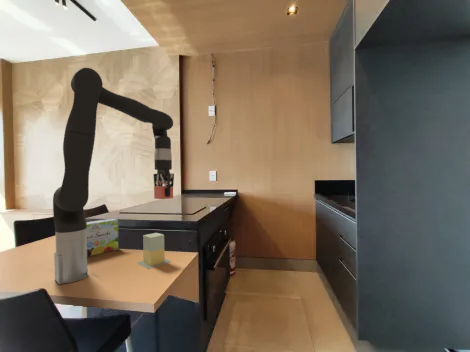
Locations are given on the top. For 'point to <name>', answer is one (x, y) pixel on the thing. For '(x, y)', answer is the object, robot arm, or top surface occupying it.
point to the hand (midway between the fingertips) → (163, 196)
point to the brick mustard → (153, 257)
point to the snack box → (102, 236)
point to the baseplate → (153, 265)
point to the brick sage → (153, 242)
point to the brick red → (162, 192)
